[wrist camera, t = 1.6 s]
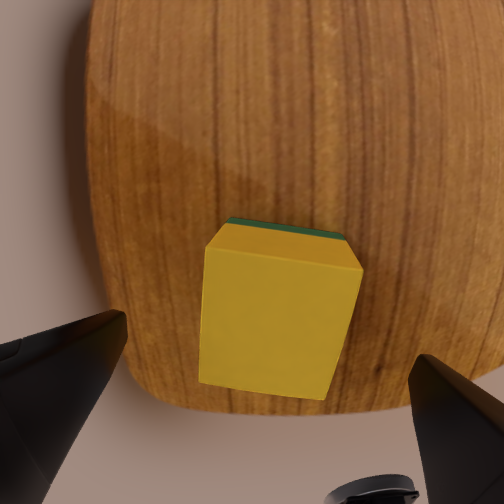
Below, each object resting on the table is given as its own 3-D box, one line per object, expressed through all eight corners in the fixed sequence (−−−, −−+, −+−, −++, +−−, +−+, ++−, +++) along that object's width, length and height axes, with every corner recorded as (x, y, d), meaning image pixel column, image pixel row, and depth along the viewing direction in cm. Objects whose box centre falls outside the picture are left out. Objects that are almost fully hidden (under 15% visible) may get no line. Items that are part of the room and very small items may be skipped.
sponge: (317, 340, 14) (325, 401, 10) (219, 325, 14) (197, 383, 11) (342, 233, 12) (364, 270, 9) (229, 216, 13) (204, 246, 9)
